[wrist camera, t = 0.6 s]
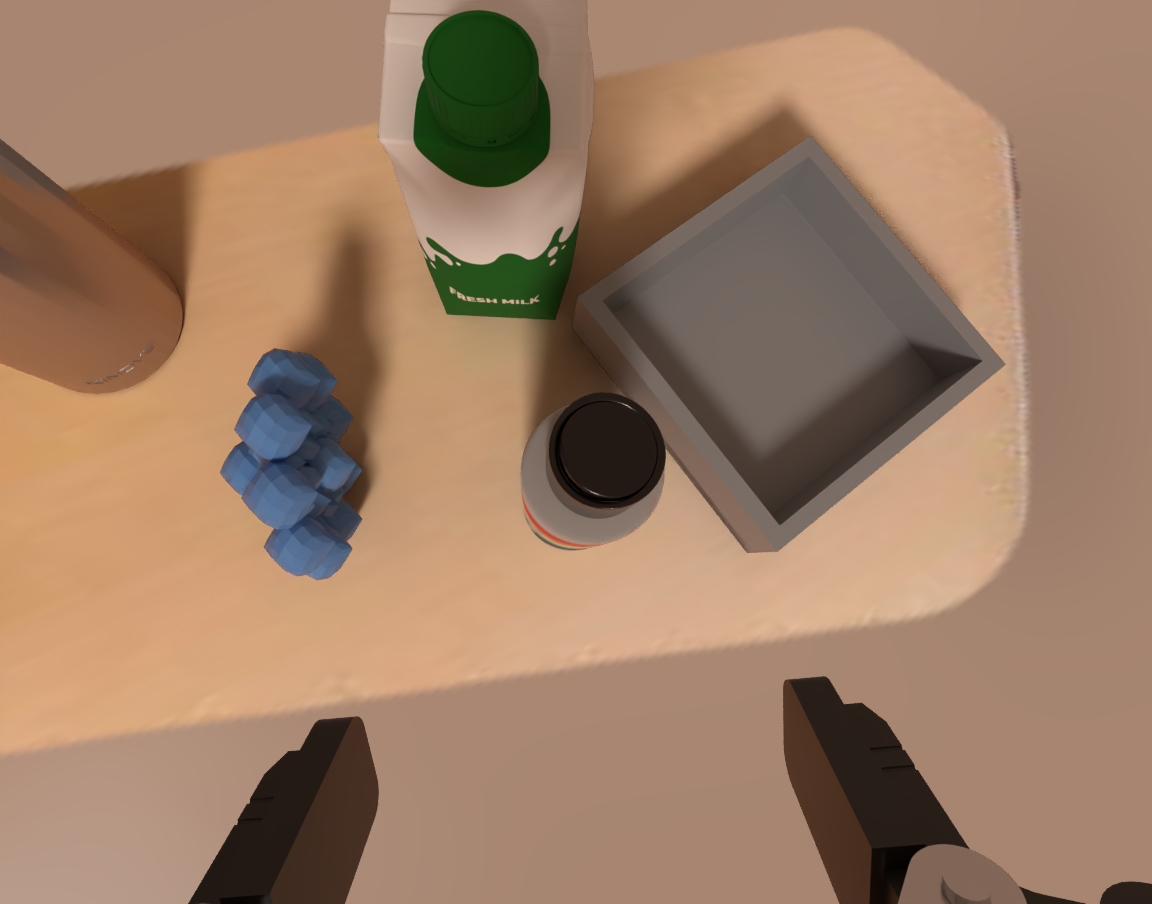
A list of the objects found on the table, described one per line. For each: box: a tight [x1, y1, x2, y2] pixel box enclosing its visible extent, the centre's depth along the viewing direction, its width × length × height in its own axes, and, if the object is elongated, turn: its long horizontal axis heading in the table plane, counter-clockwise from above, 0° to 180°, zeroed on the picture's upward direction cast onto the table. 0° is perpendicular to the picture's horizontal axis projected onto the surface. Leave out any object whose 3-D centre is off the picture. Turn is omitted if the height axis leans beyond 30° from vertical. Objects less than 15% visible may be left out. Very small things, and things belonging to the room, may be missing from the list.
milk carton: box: [378, 0, 594, 320], centre depth 32 cm, size 9×9×20 cm
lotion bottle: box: [521, 393, 666, 551], centre depth 30 cm, size 6×6×20 cm
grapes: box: [220, 348, 362, 580], centre depth 33 cm, size 12×7×12 cm, turn 4°
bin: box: [572, 136, 1006, 553], centre depth 40 cm, size 18×18×5 cm
